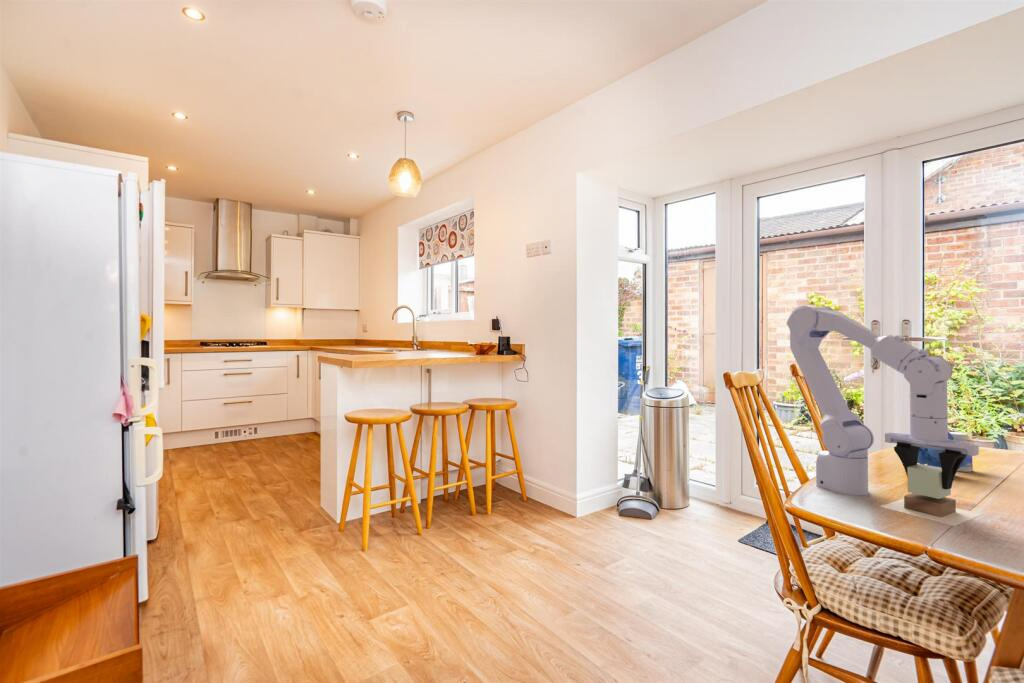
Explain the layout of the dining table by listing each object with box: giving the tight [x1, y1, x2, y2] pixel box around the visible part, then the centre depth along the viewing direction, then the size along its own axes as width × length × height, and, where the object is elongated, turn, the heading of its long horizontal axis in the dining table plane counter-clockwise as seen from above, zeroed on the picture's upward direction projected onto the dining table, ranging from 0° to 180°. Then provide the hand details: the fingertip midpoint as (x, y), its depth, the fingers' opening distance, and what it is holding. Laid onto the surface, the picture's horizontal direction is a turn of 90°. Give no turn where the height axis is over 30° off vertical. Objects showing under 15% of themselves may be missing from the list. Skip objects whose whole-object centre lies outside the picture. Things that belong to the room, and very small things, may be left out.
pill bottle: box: [948, 431, 974, 473], centre depth 129 cm, size 5×5×10 cm
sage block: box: [907, 463, 952, 499], centre depth 97 cm, size 5×5×5 cm
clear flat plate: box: [879, 498, 983, 527], centre depth 97 cm, size 12×12×1 cm
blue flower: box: [917, 431, 967, 474], centre depth 125 cm, size 12×7×12 cm, turn 43°
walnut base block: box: [903, 493, 957, 518], centre depth 97 cm, size 6×6×2 cm
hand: (929, 484), depth 97 cm, fingers closed on sage block, 5 cm apart
